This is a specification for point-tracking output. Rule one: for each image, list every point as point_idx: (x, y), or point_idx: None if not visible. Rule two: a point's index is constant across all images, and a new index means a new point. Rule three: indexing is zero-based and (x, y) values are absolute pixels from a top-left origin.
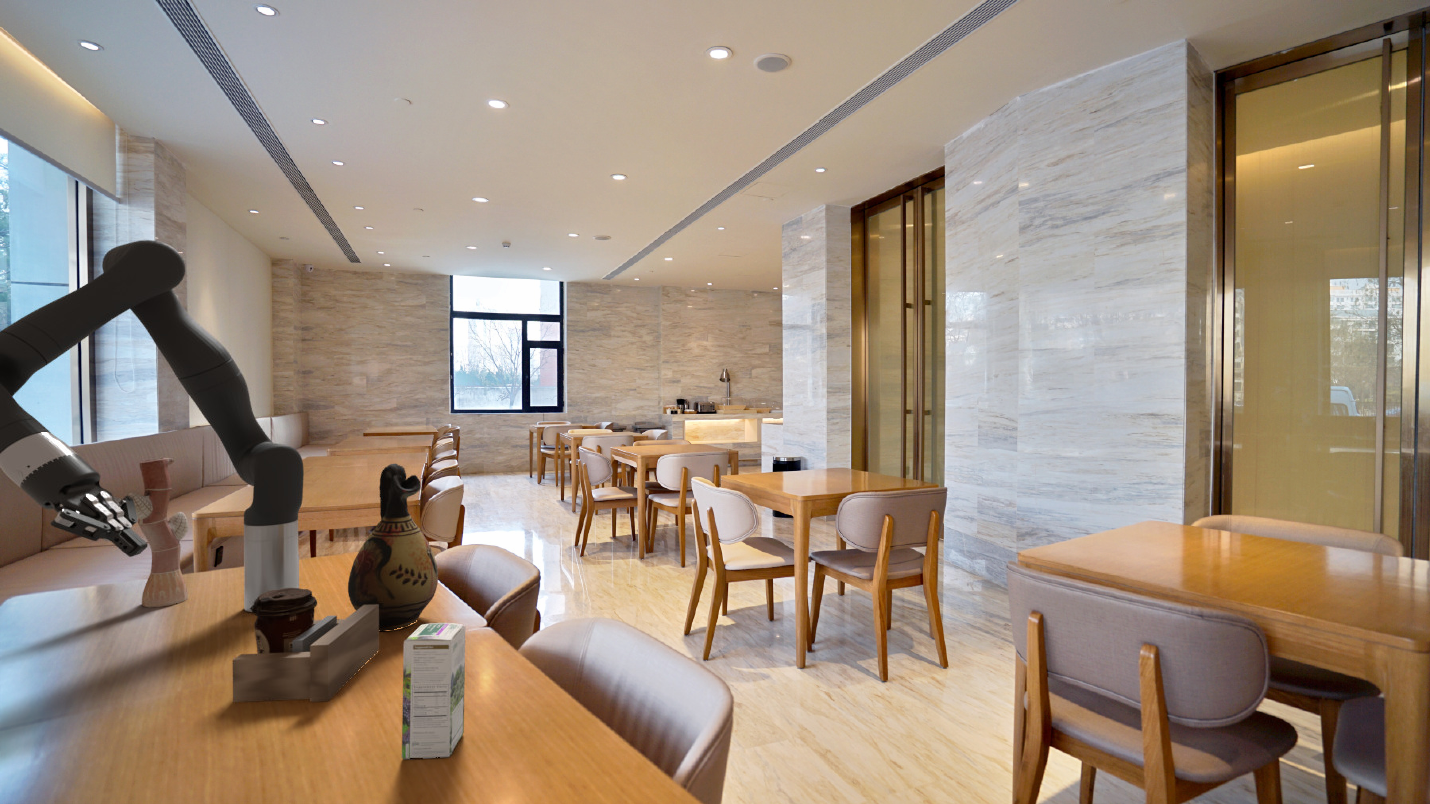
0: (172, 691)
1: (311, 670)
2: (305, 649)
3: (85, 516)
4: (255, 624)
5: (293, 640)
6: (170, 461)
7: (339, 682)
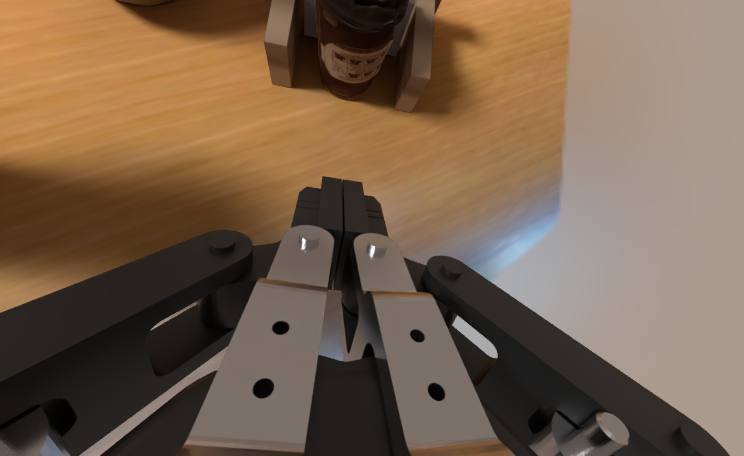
0: (365, 193)
1: (438, 5)
2: None
3: (558, 365)
4: (383, 42)
5: (414, 2)
6: None
7: None
